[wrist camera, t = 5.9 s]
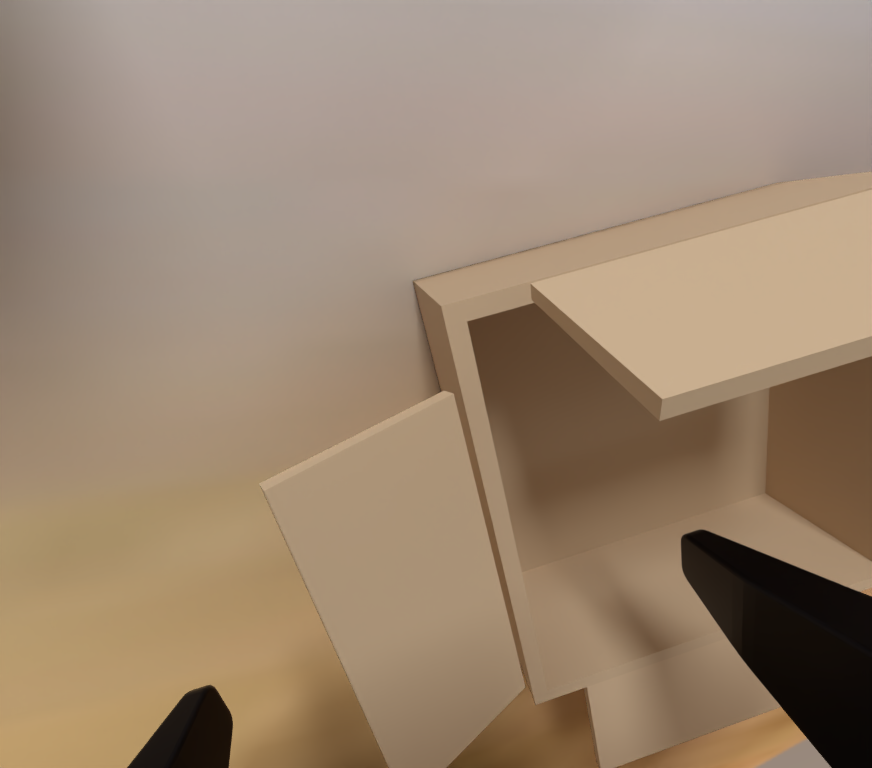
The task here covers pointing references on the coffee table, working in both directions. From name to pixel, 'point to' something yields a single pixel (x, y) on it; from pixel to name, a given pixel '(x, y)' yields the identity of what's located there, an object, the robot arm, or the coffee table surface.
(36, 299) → the coffee table surface
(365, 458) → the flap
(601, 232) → the carton
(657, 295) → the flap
